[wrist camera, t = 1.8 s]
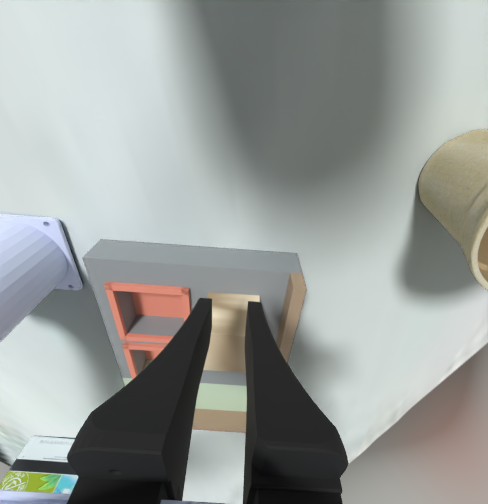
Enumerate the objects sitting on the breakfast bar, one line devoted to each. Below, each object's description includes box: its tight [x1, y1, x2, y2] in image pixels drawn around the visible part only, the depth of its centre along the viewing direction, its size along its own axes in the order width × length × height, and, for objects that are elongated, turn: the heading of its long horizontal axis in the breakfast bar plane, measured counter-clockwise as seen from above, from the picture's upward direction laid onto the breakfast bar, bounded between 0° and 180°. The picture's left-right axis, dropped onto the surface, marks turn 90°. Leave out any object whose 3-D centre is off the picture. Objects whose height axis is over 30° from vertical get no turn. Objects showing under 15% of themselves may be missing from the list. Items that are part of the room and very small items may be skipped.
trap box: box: [83, 239, 306, 433], centre depth 28 cm, size 18×24×5 cm
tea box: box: [0, 435, 78, 494], centre depth 42 cm, size 15×10×15 cm, turn 88°
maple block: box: [203, 292, 260, 373], centre depth 22 cm, size 4×4×4 cm
